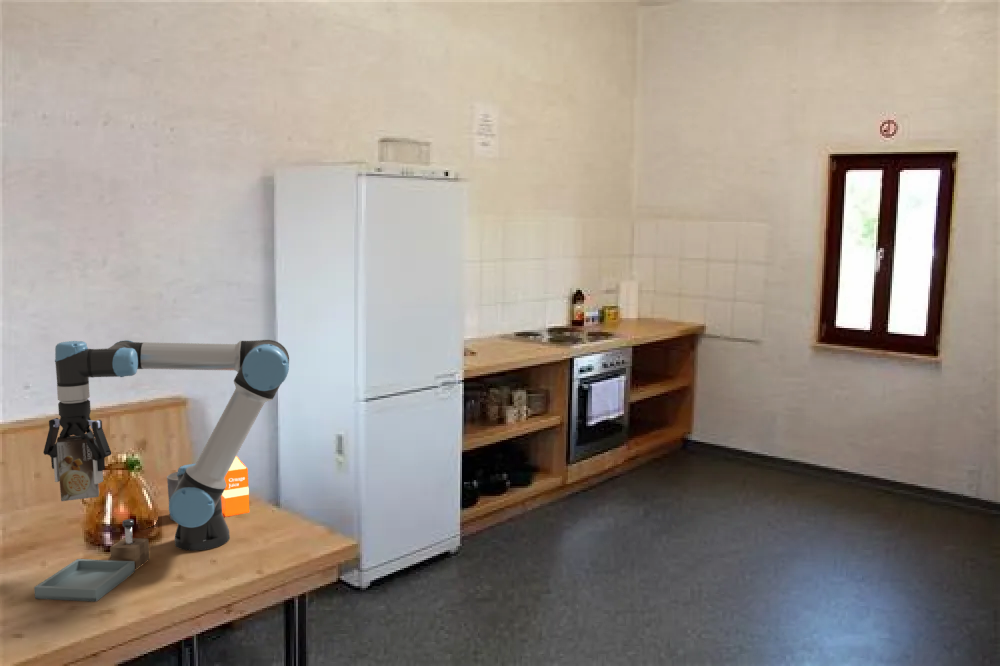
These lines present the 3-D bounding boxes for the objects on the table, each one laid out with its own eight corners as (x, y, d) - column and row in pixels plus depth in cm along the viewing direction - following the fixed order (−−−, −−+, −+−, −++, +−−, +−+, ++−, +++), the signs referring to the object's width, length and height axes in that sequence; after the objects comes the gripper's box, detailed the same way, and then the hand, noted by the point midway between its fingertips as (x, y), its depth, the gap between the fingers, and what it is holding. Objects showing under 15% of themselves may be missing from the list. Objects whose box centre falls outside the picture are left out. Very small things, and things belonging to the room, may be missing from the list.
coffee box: (99, 490, 232) (95, 433, 230) (98, 497, 226) (95, 438, 224) (61, 494, 228) (57, 436, 226) (59, 501, 222) (56, 441, 220)
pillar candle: (198, 509, 276) (195, 464, 274) (205, 517, 268) (202, 471, 266) (166, 515, 271) (163, 469, 269) (173, 524, 263) (170, 477, 261)
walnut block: (149, 559, 235) (148, 538, 234) (136, 569, 228) (134, 548, 227) (125, 558, 236) (124, 537, 235) (111, 568, 229) (110, 547, 228)
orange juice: (242, 504, 281) (240, 445, 279) (250, 512, 274) (247, 451, 271) (218, 509, 277) (215, 449, 274) (225, 516, 270) (222, 455, 267)
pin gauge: (138, 562, 233) (135, 519, 232) (132, 566, 230) (130, 522, 229) (128, 561, 233) (126, 518, 232) (123, 565, 231) (120, 522, 229)
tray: (134, 572, 227) (134, 561, 226) (96, 601, 209) (95, 589, 208) (78, 569, 228) (77, 558, 228) (35, 598, 210) (34, 587, 210)
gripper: (123, 398, 225) (127, 479, 228) (44, 396, 229) (49, 475, 232) (105, 404, 218) (110, 488, 221) (24, 401, 222) (30, 483, 224)
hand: (79, 481), depth 226 cm, fingers closed on coffee box, 11 cm apart
